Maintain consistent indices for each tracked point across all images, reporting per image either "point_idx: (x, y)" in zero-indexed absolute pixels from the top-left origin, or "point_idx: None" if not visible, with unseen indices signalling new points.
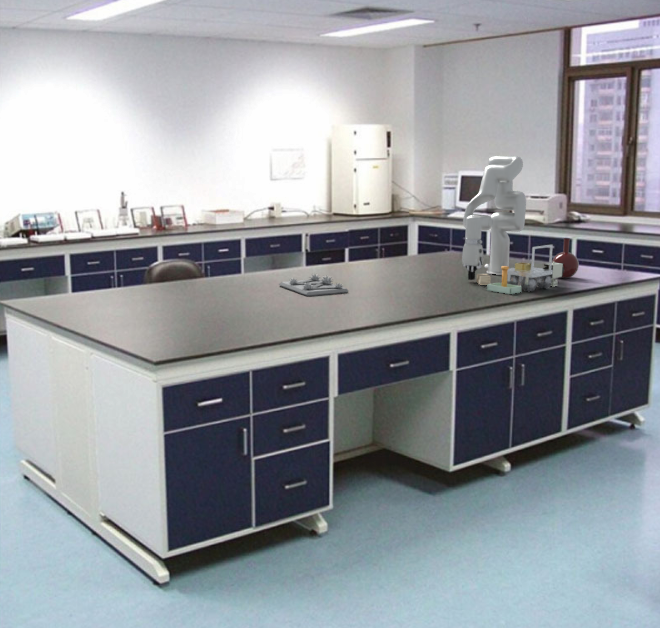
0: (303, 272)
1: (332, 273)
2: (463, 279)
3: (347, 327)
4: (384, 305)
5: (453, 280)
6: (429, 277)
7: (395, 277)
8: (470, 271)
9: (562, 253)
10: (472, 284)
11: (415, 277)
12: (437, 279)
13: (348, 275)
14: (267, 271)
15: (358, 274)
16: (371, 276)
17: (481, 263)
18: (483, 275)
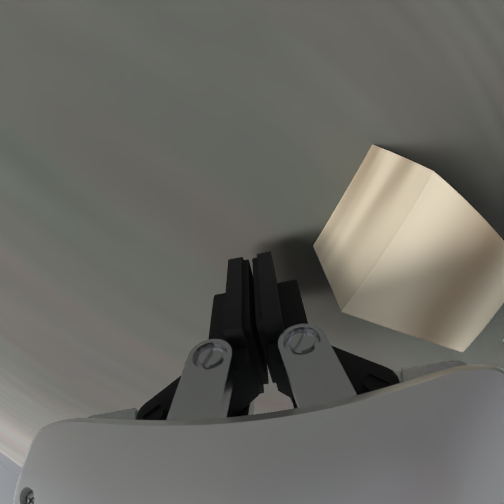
0: (12, 454)
1: (9, 445)
2: (81, 239)
3: None
4: None
5: (115, 337)
6: (14, 364)
7: (36, 428)
8: (257, 375)
9: None
10: (356, 322)
11: (24, 398)
12: (70, 378)
13: (26, 450)
14: (16, 463)
15: (8, 435)
16: (30, 442)
17: (469, 392)
18: (462, 297)
